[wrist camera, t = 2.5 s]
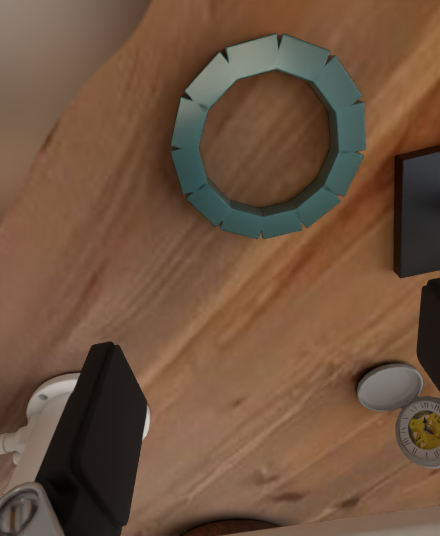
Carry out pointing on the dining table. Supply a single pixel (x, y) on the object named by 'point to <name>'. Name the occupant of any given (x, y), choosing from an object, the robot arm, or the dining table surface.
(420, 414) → the pocket watch
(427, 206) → the stand
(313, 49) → the ring
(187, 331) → the dining table surface
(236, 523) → the wooden bowl
